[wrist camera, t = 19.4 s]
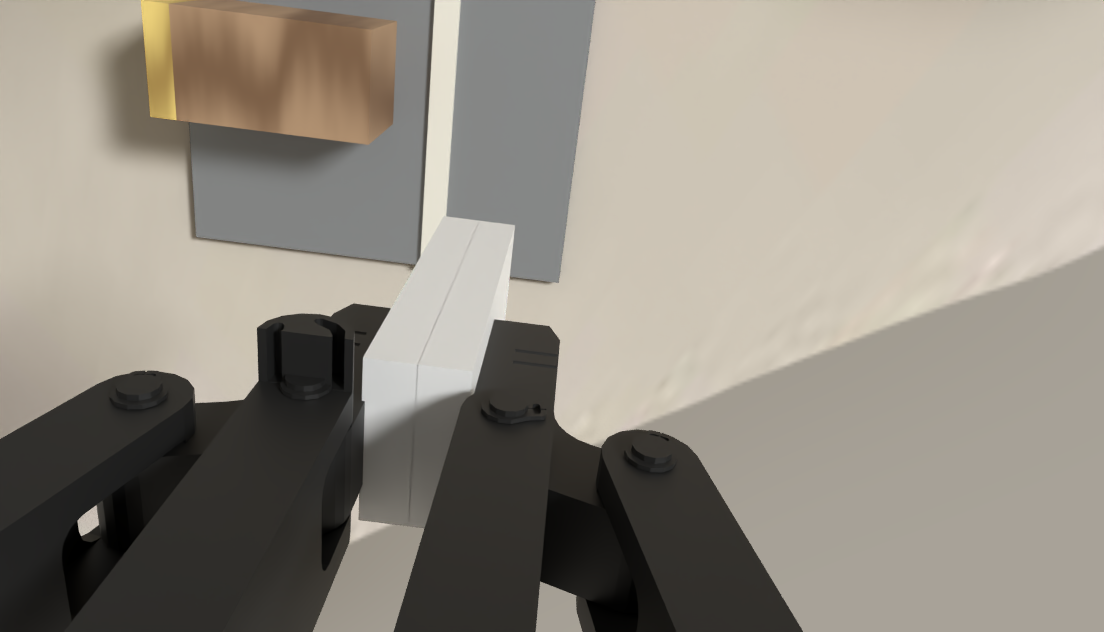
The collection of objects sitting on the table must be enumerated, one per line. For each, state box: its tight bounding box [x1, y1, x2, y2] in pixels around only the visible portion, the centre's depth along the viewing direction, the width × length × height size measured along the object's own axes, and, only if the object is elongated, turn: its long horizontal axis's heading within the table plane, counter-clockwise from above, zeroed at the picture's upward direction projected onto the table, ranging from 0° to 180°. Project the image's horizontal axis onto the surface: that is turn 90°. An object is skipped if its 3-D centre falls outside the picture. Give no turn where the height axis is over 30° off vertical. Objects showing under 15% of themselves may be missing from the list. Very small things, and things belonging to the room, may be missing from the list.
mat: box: [189, 0, 595, 283], centre depth 41 cm, size 20×20×1 cm
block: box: [141, 0, 397, 145], centre depth 39 cm, size 5×5×10 cm
